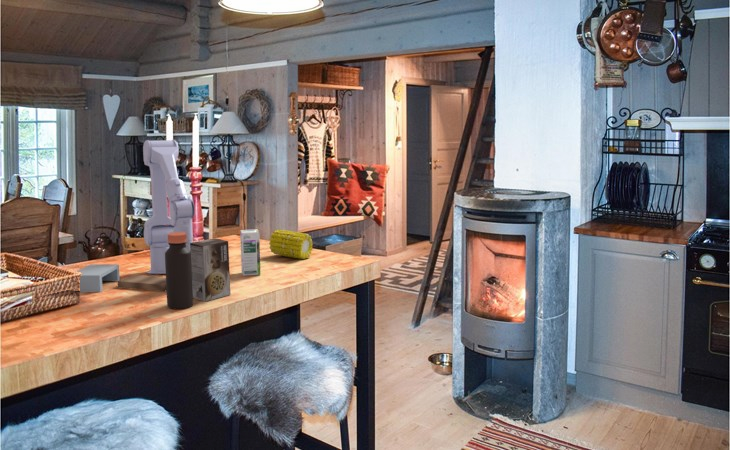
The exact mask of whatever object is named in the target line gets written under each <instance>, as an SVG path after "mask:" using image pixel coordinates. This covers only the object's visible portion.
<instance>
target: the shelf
mask: <svg viewBox="0 0 730 450" xmlns="http://www.w3.org/2000/svg"><path fill="white" fill-rule="evenodd" d="M76 271H77V272H81V273H82V276H80V278H79V280H80V292H79V293H101V292H102V291H103V282H117V281H119V280H121V279H120V265H119V264H116V263H115V264H106V263H105V264H102V263H101V264H97V263H94V264H93V263H92V264H88V265H87V266H84V267H83V268H80V269H79V270H76Z"/></svg>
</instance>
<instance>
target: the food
mask: <svg viewBox="0 0 730 450" xmlns="http://www.w3.org/2000/svg"><path fill="white" fill-rule="evenodd" d="M269 249H270V252H271V253H273V254H274V255H278V256H283V257H289V258H294V259H302V260H305V259H308V258H310V257H311V254H312V251H313V240H312V236H311V235H309V234H308V233H304V232H298V231H292V230H285V229H276V230H274V231H273V232H272V233H271V234H270V238H269Z"/></svg>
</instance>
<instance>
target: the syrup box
mask: <svg viewBox="0 0 730 450" xmlns="http://www.w3.org/2000/svg"><path fill="white" fill-rule="evenodd" d="M260 243H261V242H260V231H259V230H258V229H244V230H243V229H240V262H241V274H242V277H247V276H249V277H250V276H261V247H260V246H261V244H260Z"/></svg>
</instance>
